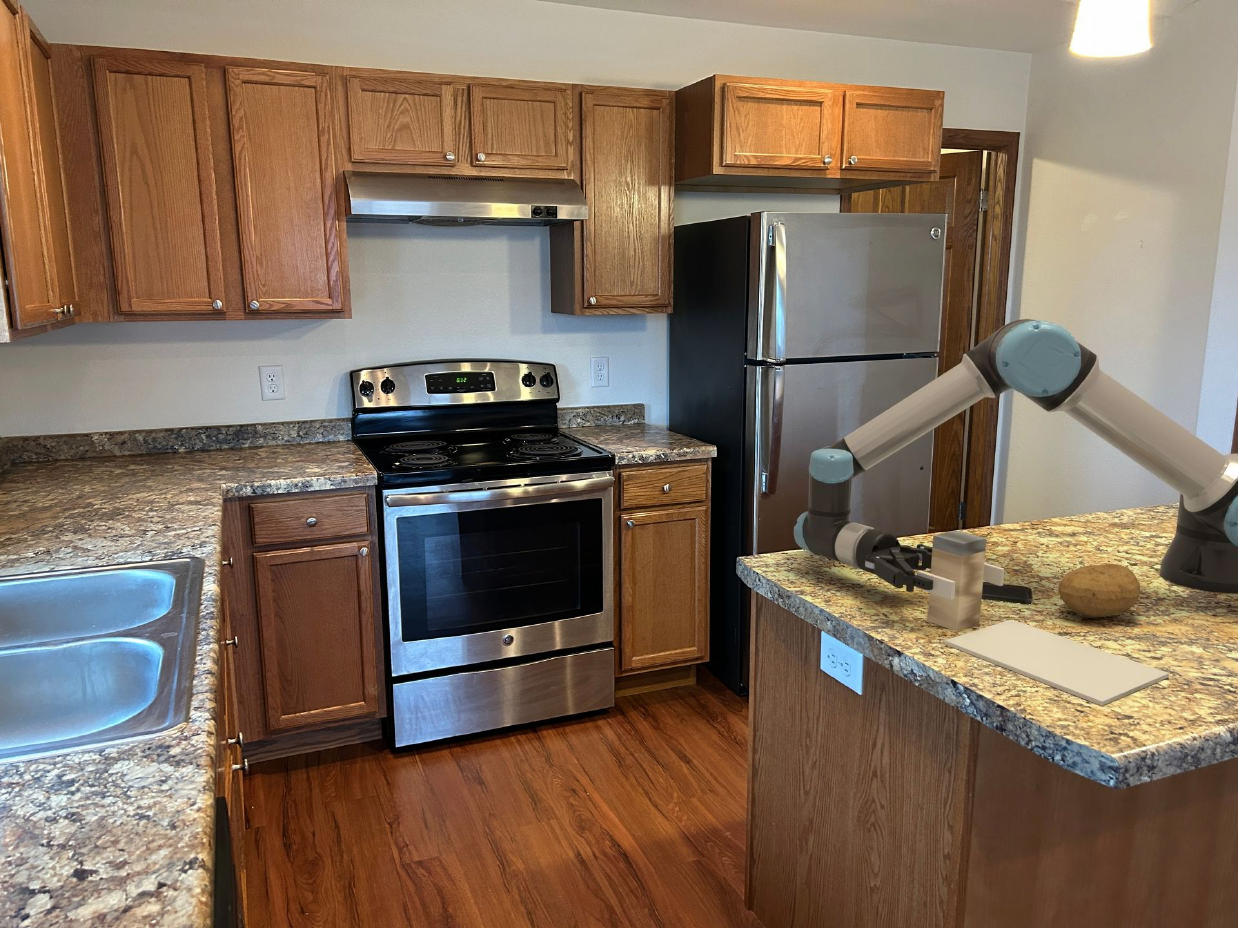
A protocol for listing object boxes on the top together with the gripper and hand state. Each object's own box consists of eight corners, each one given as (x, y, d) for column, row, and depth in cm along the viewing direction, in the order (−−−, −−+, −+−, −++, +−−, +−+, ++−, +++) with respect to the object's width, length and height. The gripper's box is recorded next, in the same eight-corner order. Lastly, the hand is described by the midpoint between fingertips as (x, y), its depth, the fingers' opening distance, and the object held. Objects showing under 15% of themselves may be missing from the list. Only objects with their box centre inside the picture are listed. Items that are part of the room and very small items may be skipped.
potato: (1037, 611, 149) (1041, 564, 148) (1100, 600, 155) (1105, 554, 153) (1088, 632, 141) (1093, 582, 139) (1152, 619, 146) (1158, 571, 144)
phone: (1032, 601, 152) (937, 589, 158) (1031, 607, 152) (936, 595, 158) (1031, 586, 159) (940, 576, 165) (1030, 593, 160) (939, 582, 165)
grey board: (944, 644, 136) (944, 640, 136) (1011, 622, 144) (1011, 619, 144) (1101, 705, 116) (1102, 701, 116) (1168, 677, 125) (1169, 673, 124)
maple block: (950, 614, 148) (956, 530, 146) (979, 624, 144) (986, 538, 141) (927, 620, 145) (933, 535, 143) (956, 631, 141) (963, 543, 138)
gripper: (913, 559, 165) (1023, 593, 147) (818, 581, 153) (925, 622, 134) (915, 518, 163) (1027, 548, 145) (820, 538, 151) (928, 573, 133)
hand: (978, 583), depth 140 cm, fingers open, 11 cm apart
